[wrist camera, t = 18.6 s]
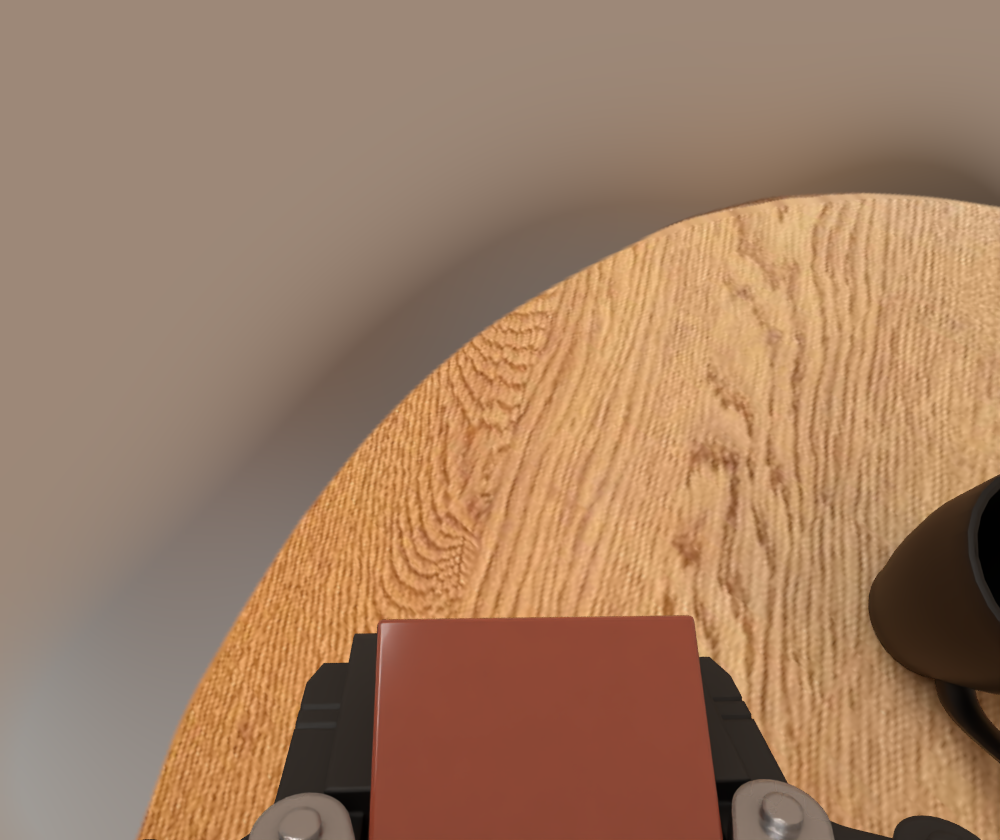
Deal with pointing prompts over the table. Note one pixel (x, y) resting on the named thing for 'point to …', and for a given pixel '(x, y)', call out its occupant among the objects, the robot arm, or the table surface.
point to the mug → (948, 606)
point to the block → (541, 730)
